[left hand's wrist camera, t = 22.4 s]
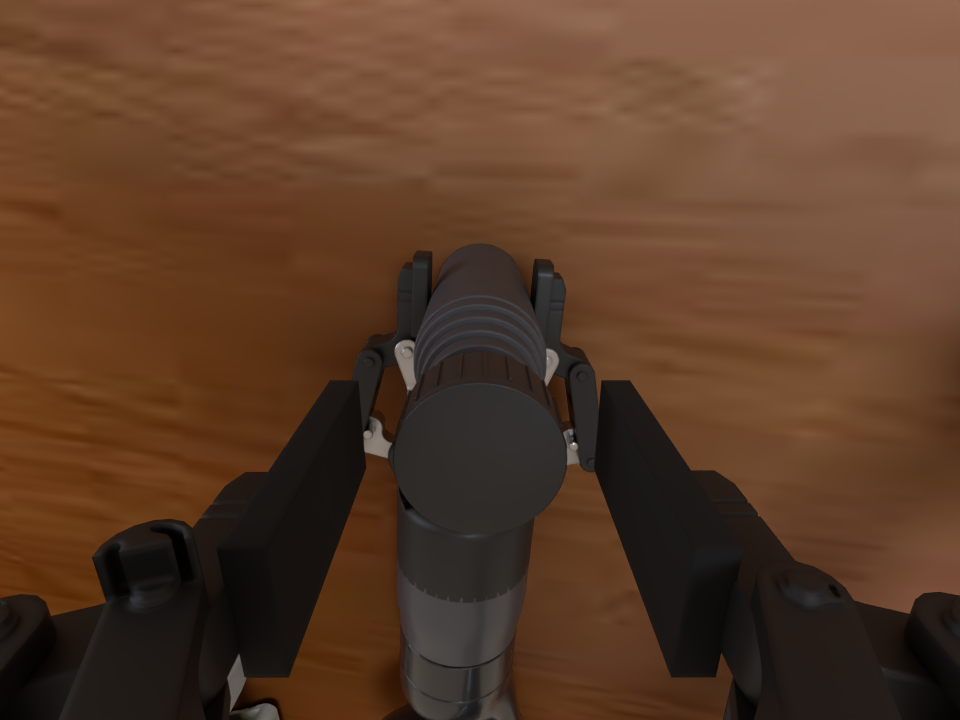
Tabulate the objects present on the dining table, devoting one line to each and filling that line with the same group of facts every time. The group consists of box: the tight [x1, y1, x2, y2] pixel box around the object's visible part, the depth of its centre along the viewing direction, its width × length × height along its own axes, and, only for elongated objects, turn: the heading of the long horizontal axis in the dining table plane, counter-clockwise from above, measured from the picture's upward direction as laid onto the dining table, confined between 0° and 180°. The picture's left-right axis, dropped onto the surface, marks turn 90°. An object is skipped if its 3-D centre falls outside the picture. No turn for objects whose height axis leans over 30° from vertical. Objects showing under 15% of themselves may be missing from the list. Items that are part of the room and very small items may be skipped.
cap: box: [393, 351, 567, 534], centre depth 14 cm, size 4×4×2 cm
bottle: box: [413, 244, 547, 383], centre depth 22 cm, size 5×5×18 cm
